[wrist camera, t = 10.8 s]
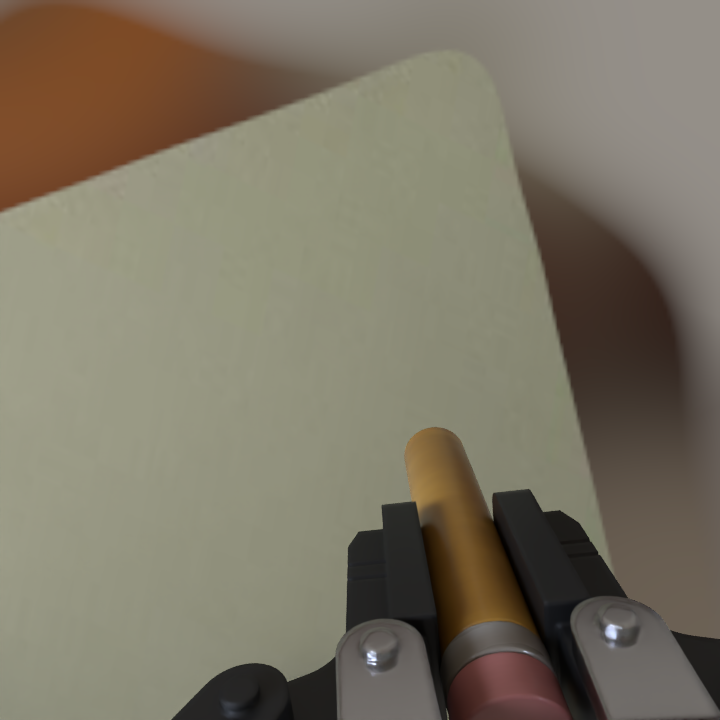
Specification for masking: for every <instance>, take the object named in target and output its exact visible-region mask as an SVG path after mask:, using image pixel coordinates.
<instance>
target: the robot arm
mask: <svg viewBox="0 0 720 720" xmlns="http://www.w3.org/2000/svg"><path fill="white" fill-rule="evenodd" d="M492 503H493V519H494V524H495V526H496V529H497V531H498V534H499V536H500V539H501V541H502V544H503V546H504V549H505V551H506V554H507V556H508V559H509V561H510V563H511V566H512V568H513V571H514V573H515V576H516V578H517V581H518V583H519V586H520V588H521V591H522V593H523V596H524V598H525V601H526V603H527V606H528V608H529V611H530V613H531V616H532V618H533V621H534V623H535V625H536V628H537V630H538V633H539V635H540V638H541V640H542V642H543V644H544V645H545V647H546V649H547V652H548V654H549V656H550V659H551V661H552V664H553V666H554V669H555V671H556V674H557V676H558V679H559V683H560V687H561V690H562V692H563V695H564V697H565V700H566V702H567V705H568V707H569V710H570V712H571V715H572V717H573V719H574V720H720V639H714V638H706V637H698V636H691V635H686V634H681V633H678V632H674V631H671V630H669V628H668V626H667V625H666V623H665V622H664V620H663V619H662V618H661V616H659V615H658V614H657V613H656V612H655V611H654V610H652V609H651V608H650V607H648V606H646V605H644V604H642V603H640V602H637V601H635V600H632V599H628V597H627V596H626V594H625V592H624V591H623V590H622V588H621V586H620V585H619V583H618V582H617V580H616V579H615V577H614V576H613V574H612V573H611V571H610V570H609V568H608V566H607V565H606V563H605V562H604V560H603V559H602V557H601V556H600V555H598V551H597V550H596V548H595V547H594V545H593V544H592V542H590V540H589V537H588V536H587V534H586V533H585V531H584V530H583V528H582V527H581V525H580V524H579V523H578V522H577V521H575V520H574V519H572V518H571V517H569V516H568V515H566V514H565V513H563V512H561V511H560V510H559V511H549V512H543V511H542V510H541V508H540V506H539V504H538V503H537V501H536V499H535V497H534V495H533V494H532V492H531V490H529V489H525V490H516V491H506V492H497V493H493V498H492ZM382 518H383V529H380V530H371V531H361V532H358V534H357V535H356V537H355V538H354V539H353V541H352V542H351V544H350V545H349V547H348V574H347V579H348V581H347V612H346V634H345V635H344V636H343V637H342V638H341V640H340V641H339V643H338V645H337V648H336V656H335V657H334V658H333V659H332V660H331V661H330V662H329V663H328V664H326V665H325V666H324V667H322V668H320V669H318V670H317V671H315V672H312V673H310V674H308V675H305V676H302V677H300V678H297V679H294V680H291V681H289V682H287V680H286V678H285V676H284V675H283V674H282V673H281V672H280V671H279V670H277V669H276V668H274V667H272V666H269V665H265V664H258V663H252V664H244V665H239V666H236V667H233V668H230V669H228V670H226V671H224V672H222V673H220V674H218V675H217V676H216V677H214V678H213V679H212V680H210V681H209V682H208V683H207V684H206V685H205V686H204V687H203V688H202V689H201V690H200V691H199V692H198V693H197V694H196V695H195V696H194V697H193V698H192V699H191V700H190V701H189V702H188V703H187V704H186V705H185V706H184V707H183V708H182V709H181V710H180V711H179V712H178V713H177V715H176V716H175V717H174V718H173V719H172V720H447V712H446V705H445V699H444V693H443V687H442V682H441V676H440V667H441V652H440V642H439V632H438V622H437V613H436V607H435V602H434V597H433V591H432V586H431V580H430V575H429V569H428V564H427V559H426V553H425V548H424V542H423V537H422V532H421V526H420V521H419V515H418V510H417V504H416V501H413V502H404V503H395V504H385V505H382Z"/></svg>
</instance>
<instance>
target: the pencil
mask: <svg viewBox="0 0 720 720" xmlns="http://www.w3.org/2000/svg"><path fill="white" fill-rule="evenodd" d="M404 456H405V464H406V470H407V475H408V481H409V487H410V493H411V499H412V502H413V501H416V504H417V510H418V515H419V521H420V526H421V532H422V537H423V542H424V548H425V553H426V559H427V564H428V569H429V575H430V580H431V586H432V591H433V597H434V602H435V607H436V613H437V622H438V632H439V642H440V652H441V667H440V676H441V682H442V687H443V693H444V699H445V705H446V708H447V711H448V714H449V720H574V719H573V717H572V715H571V712H570V710H569V707H568V705H567V702H566V700H565V697H564V695H563V692H562V690H561V687H560V683H559V679H558V676H557V674H556V671H555V669H554V666H553V664H552V661H551V659H550V656H549V654H548V652H547V649H546V647H545V645H544V644H543V642H542V640H541V638H540V635H539V633H538V630H537V628H536V625H535V623H534V621H533V618H532V616H531V613H530V611H529V608H528V606H527V603H526V601H525V598H524V596H523V593H522V591H521V588H520V586H519V583H518V581H517V578H516V576H515V573H514V571H513V568H512V566H511V563H510V561H509V559H508V556H507V554H506V551H505V549H504V546H503V544H502V541H501V539H500V536H499V534H498V531H497V529H496V526H495V524H494V521H493V519H492V516H491V514H490V511H489V509H488V506H487V504H486V502H485V499H484V497H483V494H482V492H481V489H480V487H479V484H478V482H477V479H476V477H475V474H474V472H473V469H472V467H471V464H470V462H469V459H468V457H467V454H466V452H465V450H464V447H463V445H462V442H461V441H460V439H459V438H458V437H457V436H456V435H455V434H454V433H453V432H451V431H449V430H447V429H444V428H438V427H432V428H427V429H424V430H421V431H419V432H418V433H416V434H415V435H414V436H413V437H412V438H411V439H410V440H409V442H408V444H407V446H406V449H405V455H404Z"/></svg>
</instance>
